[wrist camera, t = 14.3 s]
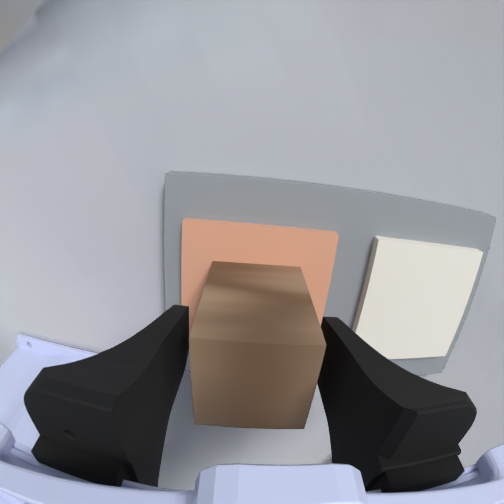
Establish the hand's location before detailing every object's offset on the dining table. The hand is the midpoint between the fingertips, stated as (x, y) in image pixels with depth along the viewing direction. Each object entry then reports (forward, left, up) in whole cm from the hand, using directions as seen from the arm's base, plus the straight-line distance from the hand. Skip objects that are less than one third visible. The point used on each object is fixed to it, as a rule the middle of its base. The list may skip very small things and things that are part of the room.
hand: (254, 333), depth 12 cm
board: (+4, 0, -4) cm, 6 cm away
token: (0, 0, -3) cm, 3 cm away
